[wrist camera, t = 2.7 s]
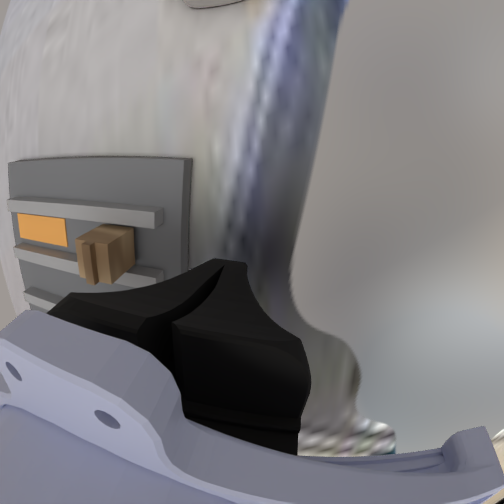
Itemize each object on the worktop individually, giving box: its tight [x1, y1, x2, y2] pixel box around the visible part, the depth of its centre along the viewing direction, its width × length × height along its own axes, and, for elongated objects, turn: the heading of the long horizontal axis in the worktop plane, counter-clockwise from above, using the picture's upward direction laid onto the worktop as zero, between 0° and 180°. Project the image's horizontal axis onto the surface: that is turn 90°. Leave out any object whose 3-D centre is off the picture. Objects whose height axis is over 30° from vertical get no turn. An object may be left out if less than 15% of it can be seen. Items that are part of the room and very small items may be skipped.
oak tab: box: [75, 224, 135, 285], centre depth 13 cm, size 2×2×3 cm
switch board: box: [7, 156, 192, 313], centre depth 16 cm, size 16×14×2 cm
